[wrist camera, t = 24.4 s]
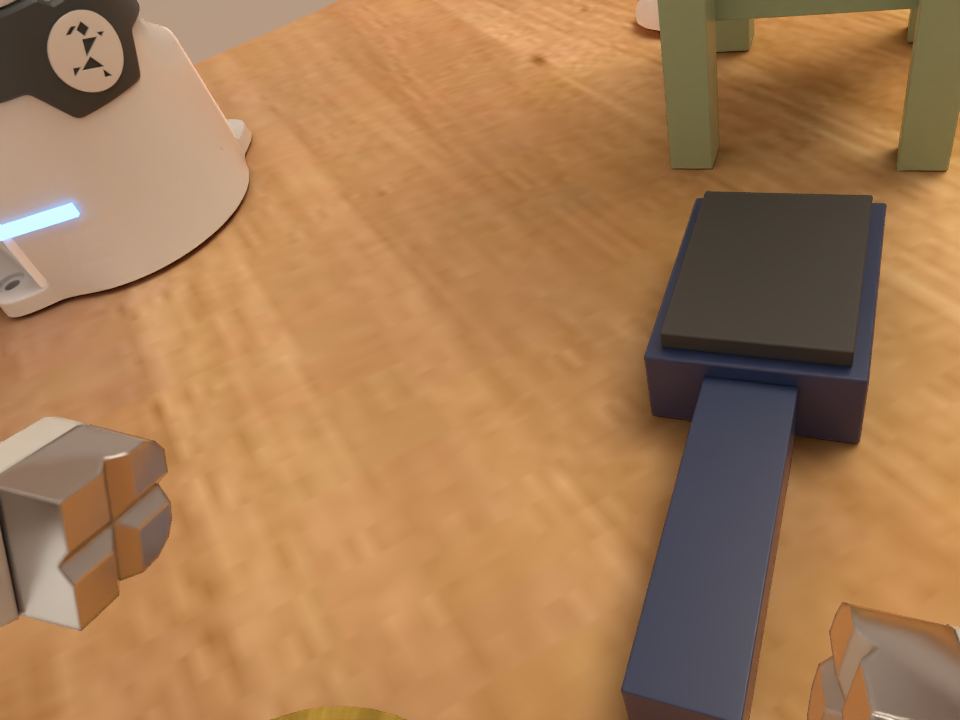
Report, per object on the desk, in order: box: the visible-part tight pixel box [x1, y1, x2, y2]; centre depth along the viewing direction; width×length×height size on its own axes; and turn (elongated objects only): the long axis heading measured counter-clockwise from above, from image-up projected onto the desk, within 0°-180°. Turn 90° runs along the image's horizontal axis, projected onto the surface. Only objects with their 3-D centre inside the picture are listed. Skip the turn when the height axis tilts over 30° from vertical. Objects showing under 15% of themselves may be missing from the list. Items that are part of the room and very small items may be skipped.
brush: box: [621, 191, 886, 720], centre depth 27 cm, size 20×7×4 cm, turn 158°
